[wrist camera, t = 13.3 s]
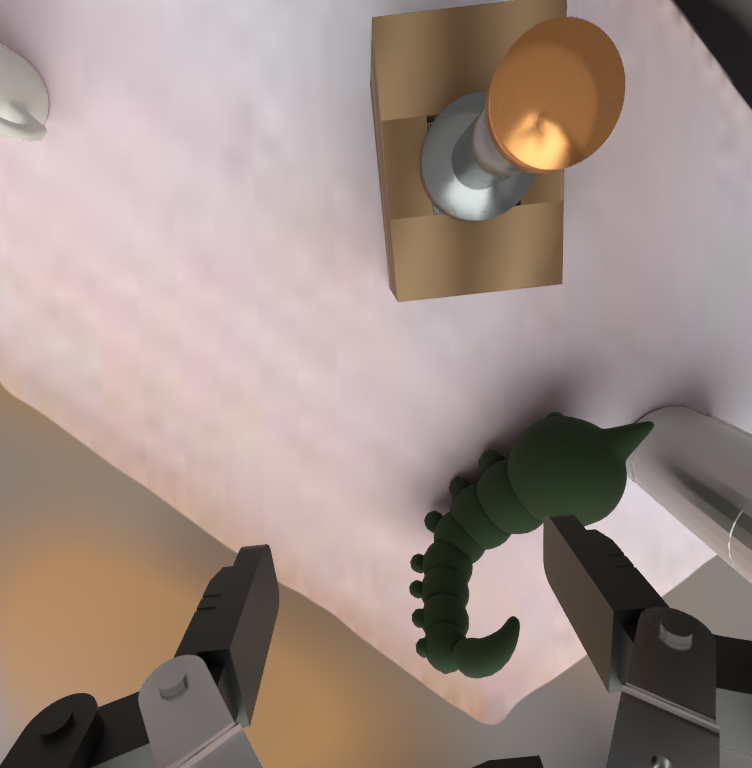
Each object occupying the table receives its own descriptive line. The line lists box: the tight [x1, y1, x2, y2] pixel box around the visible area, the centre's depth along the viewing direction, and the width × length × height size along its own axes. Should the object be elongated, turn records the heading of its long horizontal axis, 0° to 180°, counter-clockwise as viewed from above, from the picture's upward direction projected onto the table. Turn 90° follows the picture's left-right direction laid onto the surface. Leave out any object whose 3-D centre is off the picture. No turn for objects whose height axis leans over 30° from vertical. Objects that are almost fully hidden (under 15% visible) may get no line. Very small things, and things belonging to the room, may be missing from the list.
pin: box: [420, 17, 625, 222], centre depth 25 cm, size 7×7×20 cm
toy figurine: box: [409, 412, 654, 678], centre depth 37 cm, size 9×19×25 cm
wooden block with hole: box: [370, 0, 567, 302], centre depth 33 cm, size 11×16×11 cm
